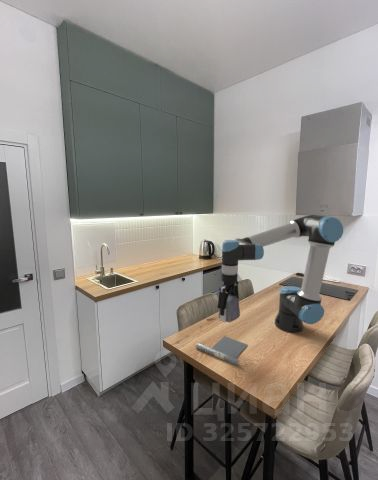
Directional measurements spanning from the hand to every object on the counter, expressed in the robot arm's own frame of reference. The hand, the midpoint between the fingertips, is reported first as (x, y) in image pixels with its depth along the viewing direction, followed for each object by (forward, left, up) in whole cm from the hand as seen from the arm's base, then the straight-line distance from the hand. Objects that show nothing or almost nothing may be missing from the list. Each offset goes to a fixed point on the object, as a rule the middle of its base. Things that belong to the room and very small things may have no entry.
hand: (228, 317), depth 121 cm
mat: (-1, +1, -15) cm, 15 cm away
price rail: (+1, +10, -15) cm, 18 cm away
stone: (0, 0, -1) cm, 1 cm away
